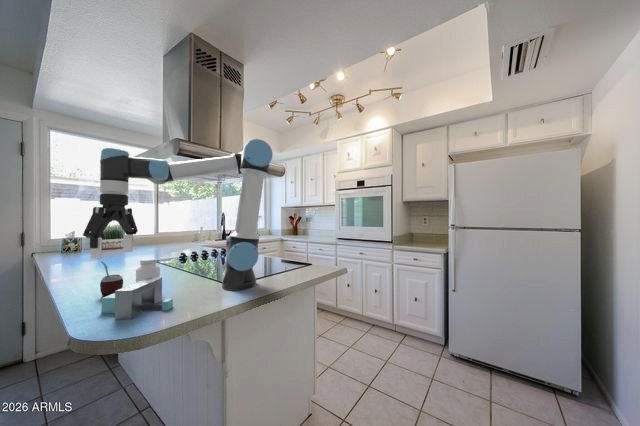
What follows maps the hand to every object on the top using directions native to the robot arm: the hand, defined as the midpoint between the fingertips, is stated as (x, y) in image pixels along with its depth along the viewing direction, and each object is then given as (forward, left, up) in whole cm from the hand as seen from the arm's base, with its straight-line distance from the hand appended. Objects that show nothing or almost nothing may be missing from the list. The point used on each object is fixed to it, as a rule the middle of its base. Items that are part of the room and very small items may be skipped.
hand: (113, 255), depth 83 cm
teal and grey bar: (-9, 0, -19) cm, 21 cm away
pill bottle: (-3, -14, -19) cm, 24 cm away
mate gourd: (+12, -15, -19) cm, 27 cm away
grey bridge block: (-9, 0, -19) cm, 21 cm away
